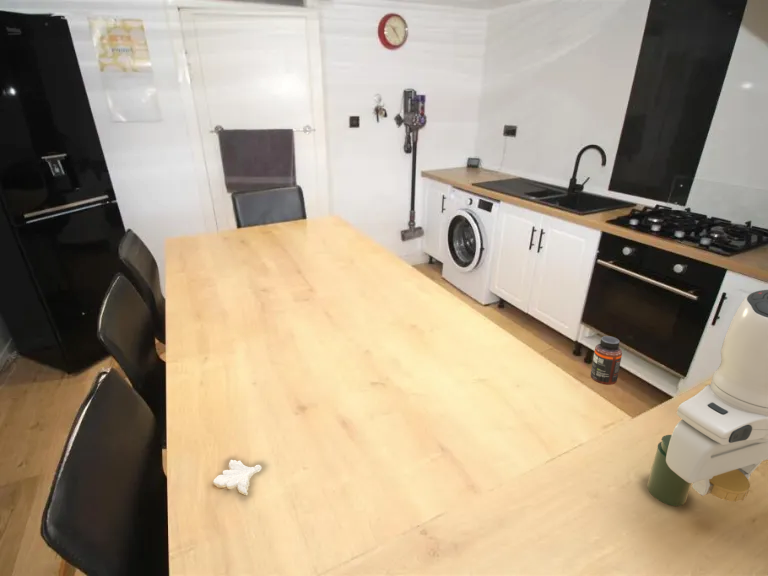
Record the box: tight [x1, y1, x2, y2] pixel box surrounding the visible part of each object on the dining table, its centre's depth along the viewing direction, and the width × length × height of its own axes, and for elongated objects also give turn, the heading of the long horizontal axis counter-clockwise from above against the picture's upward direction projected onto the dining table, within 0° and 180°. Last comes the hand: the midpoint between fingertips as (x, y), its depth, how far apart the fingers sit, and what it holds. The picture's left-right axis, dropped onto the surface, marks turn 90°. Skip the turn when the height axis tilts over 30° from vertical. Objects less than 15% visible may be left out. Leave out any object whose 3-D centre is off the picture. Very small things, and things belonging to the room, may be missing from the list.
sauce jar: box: [646, 434, 693, 507], centre depth 68 cm, size 6×6×11 cm
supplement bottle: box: [590, 335, 623, 386], centre depth 101 cm, size 6×6×11 cm
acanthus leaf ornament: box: [212, 459, 263, 496], centre depth 75 cm, size 8×7×2 cm
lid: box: [709, 469, 751, 502], centre depth 60 cm, size 6×6×2 cm
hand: (719, 485), depth 61 cm, fingers closed on lid, 6 cm apart
